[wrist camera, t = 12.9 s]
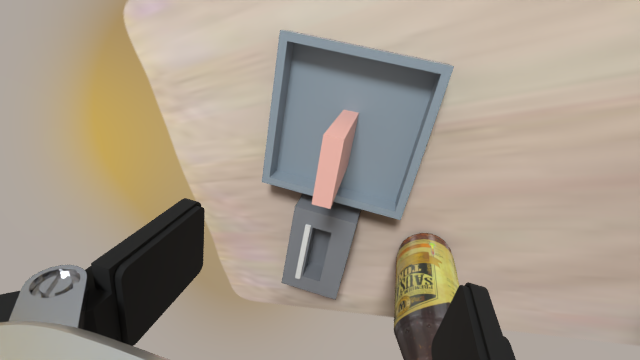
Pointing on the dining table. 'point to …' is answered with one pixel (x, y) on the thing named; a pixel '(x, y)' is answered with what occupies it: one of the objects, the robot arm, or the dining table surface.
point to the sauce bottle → (422, 293)
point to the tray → (372, 125)
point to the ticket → (334, 158)
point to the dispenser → (319, 246)
